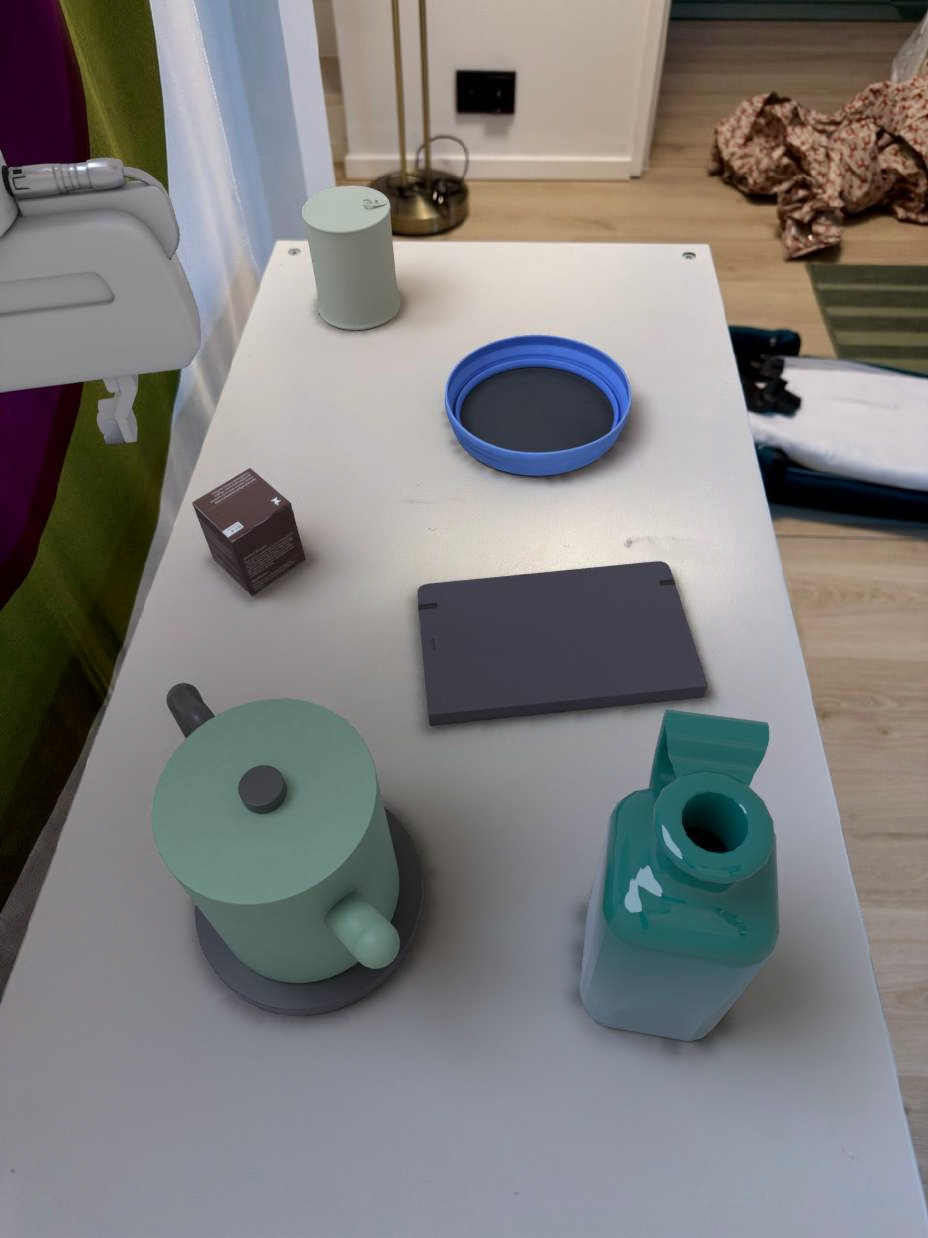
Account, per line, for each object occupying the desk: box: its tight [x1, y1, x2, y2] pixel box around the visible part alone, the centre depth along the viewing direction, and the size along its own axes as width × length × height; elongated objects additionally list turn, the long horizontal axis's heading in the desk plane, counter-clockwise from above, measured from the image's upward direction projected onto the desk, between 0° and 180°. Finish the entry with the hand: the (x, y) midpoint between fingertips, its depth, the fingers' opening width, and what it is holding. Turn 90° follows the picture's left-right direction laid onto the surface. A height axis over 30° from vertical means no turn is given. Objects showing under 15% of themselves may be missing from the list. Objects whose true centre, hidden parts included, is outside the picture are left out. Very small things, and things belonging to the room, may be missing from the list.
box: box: [191, 467, 307, 597], centre depth 76 cm, size 6×6×7 cm
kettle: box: [150, 682, 400, 983], centre depth 53 cm, size 22×12×15 cm, turn 41°
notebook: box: [417, 560, 708, 726], centre depth 72 cm, size 13×2×21 cm
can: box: [301, 185, 401, 331], centre depth 97 cm, size 9×9×12 cm
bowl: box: [444, 334, 632, 477], centre depth 88 cm, size 18×18×4 cm
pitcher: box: [579, 708, 781, 1042], centre depth 49 cm, size 10×8×22 cm
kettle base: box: [194, 806, 425, 1017], centre depth 60 cm, size 15×15×2 cm
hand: (29, 448), depth 46 cm, fingers open, 8 cm apart
